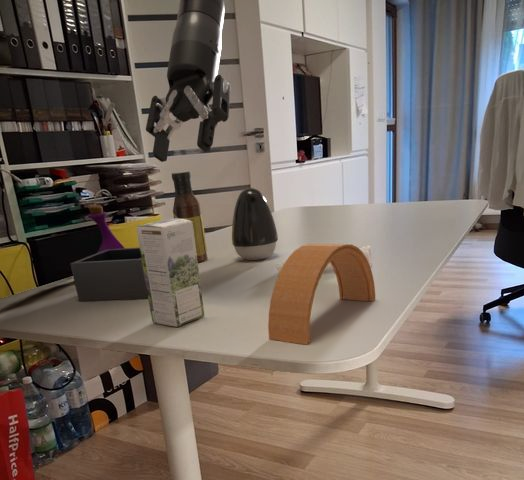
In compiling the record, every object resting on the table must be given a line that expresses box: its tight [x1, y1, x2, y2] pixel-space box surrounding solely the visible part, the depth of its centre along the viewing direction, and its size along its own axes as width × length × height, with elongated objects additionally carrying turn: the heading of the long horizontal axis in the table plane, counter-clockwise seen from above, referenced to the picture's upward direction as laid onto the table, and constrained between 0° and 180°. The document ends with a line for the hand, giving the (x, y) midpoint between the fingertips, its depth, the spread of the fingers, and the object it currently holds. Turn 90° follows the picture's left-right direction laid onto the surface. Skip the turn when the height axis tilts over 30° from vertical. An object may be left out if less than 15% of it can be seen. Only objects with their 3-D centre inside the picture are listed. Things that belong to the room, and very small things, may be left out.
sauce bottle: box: [171, 170, 208, 263], centre depth 118 cm, size 7×6×20 cm
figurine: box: [275, 243, 373, 273], centre depth 98 cm, size 17×5×18 cm
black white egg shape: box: [231, 187, 279, 261], centre depth 115 cm, size 10×10×15 cm
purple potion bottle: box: [87, 189, 125, 253], centre depth 115 cm, size 8×8×18 cm
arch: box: [267, 243, 376, 345], centre depth 70 cm, size 6×20×10 cm, turn 144°
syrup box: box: [135, 218, 205, 328], centre depth 75 cm, size 6×6×14 cm
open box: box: [69, 246, 149, 302], centre depth 98 cm, size 14×13×7 cm
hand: (181, 154), depth 78 cm, fingers open, 8 cm apart
